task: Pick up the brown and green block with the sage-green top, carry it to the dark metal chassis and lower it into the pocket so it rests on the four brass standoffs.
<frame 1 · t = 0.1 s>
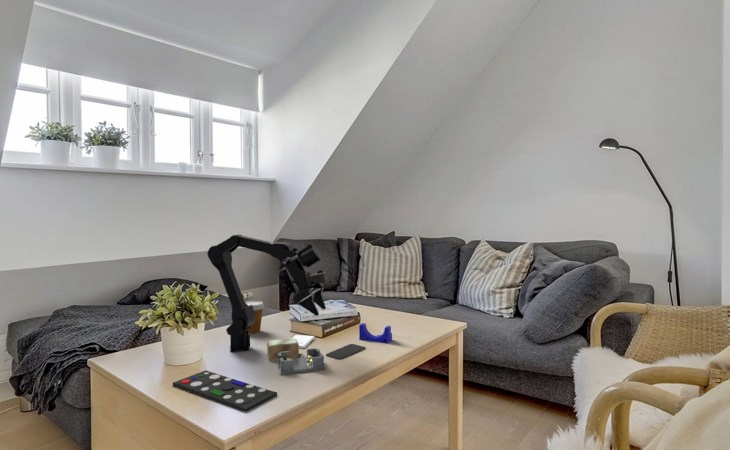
hand: (321, 312, 148), 15 cm above the table, tool tilted 30°, fingers open, 9 cm apart
phone: (346, 353, 151), on the table
chassis: (300, 366, 136), on the table
disposable coffee cup: (252, 332, 176), on the table
remote control: (223, 393, 118), on the table
brown and green block: (282, 356, 146), on the table
blue u-shaped cradle: (375, 340, 165), on the table
external hard drive: (299, 344, 161), on the table
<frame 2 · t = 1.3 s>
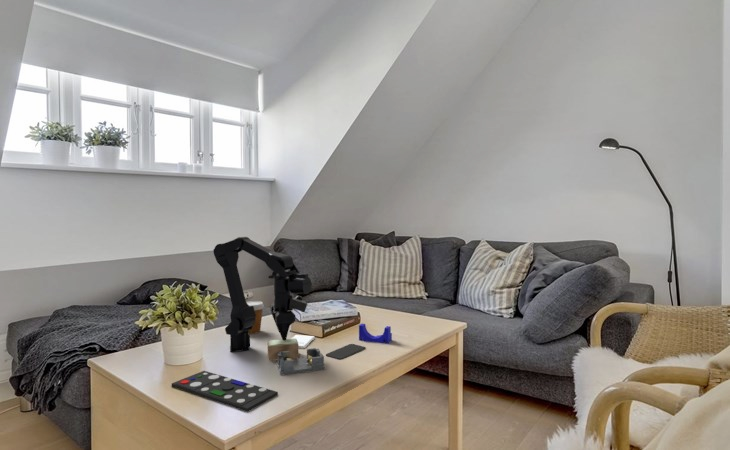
hand: (282, 336, 146), 7 cm above the table, tool pointing down, fingers open, 9 cm apart
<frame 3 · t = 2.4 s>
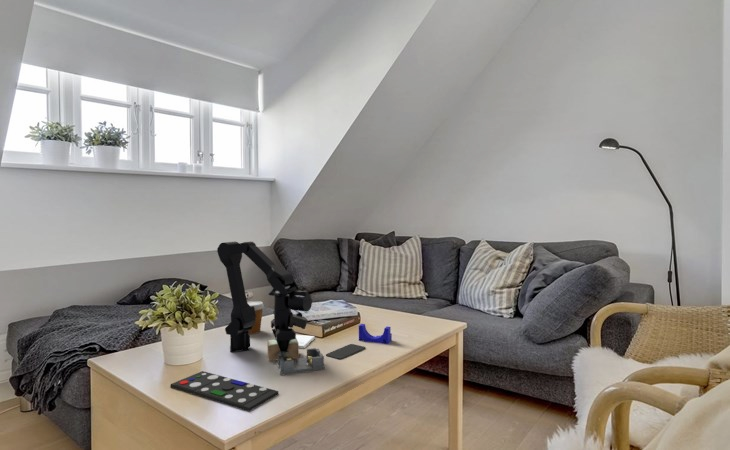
hand: (282, 353, 146), 1 cm above the table, tool pointing down, fingers closed on brown and green block, 6 cm apart
brown and green block: (282, 356, 146), on the table, touching gripper
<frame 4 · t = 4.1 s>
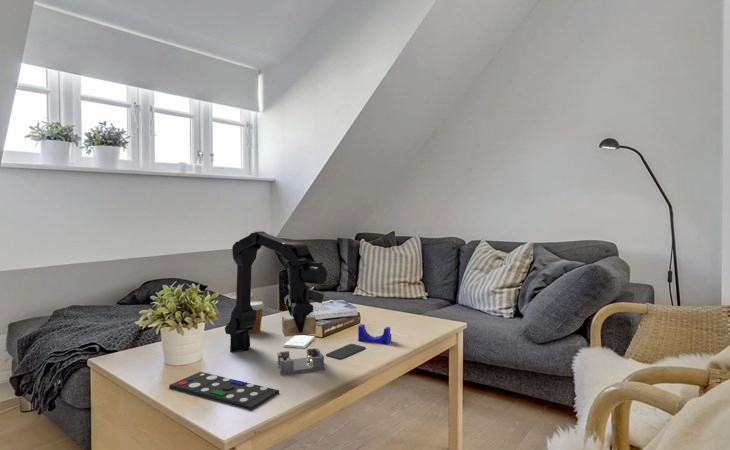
hand: (298, 329, 137), 12 cm above the table, tool pointing down, fingers closed on brown and green block, 6 cm apart
brown and green block: (299, 332, 137), point 11 cm above the table, touching gripper
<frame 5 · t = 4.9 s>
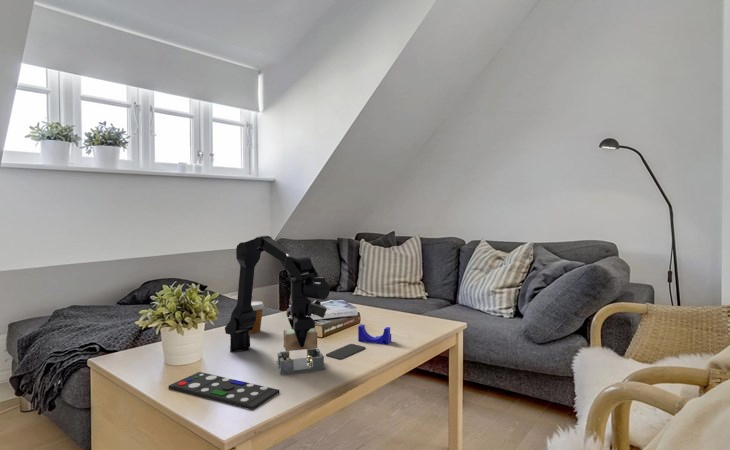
hand: (300, 343, 136), 8 cm above the table, tool pointing down, fingers closed on brown and green block, 6 cm apart
brown and green block: (300, 346, 136), point 7 cm above the table, touching gripper
when the fingers open (5 cm above the table, at t = 5.8 s): brown and green block drops 1 cm, resting on chassis.
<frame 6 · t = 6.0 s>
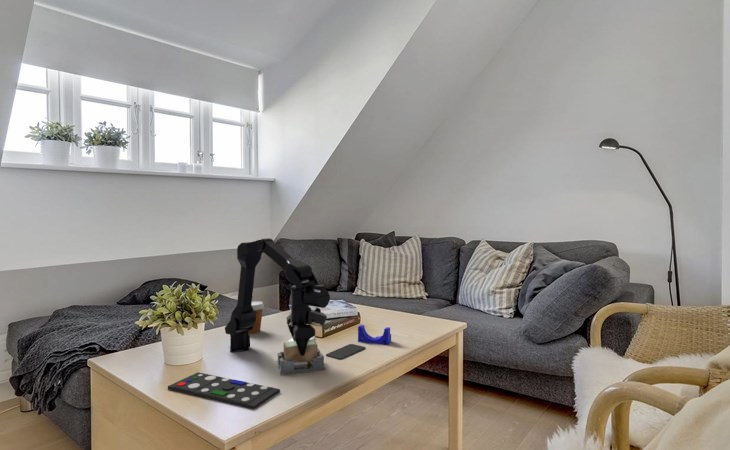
hand: (300, 351, 136), 5 cm above the table, tool pointing down, fingers open, 8 cm apart
brown and green block: (300, 359, 136), point 2 cm above the table, touching chassis
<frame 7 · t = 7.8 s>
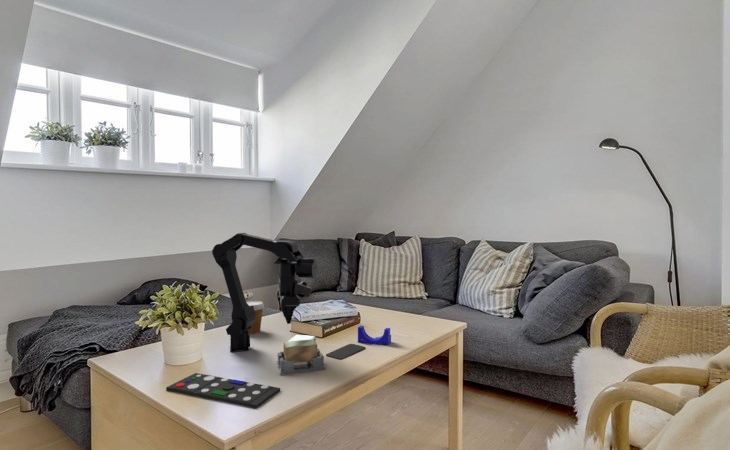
hand: (287, 320, 149), 12 cm above the table, tool pointing down, fingers open, 9 cm apart
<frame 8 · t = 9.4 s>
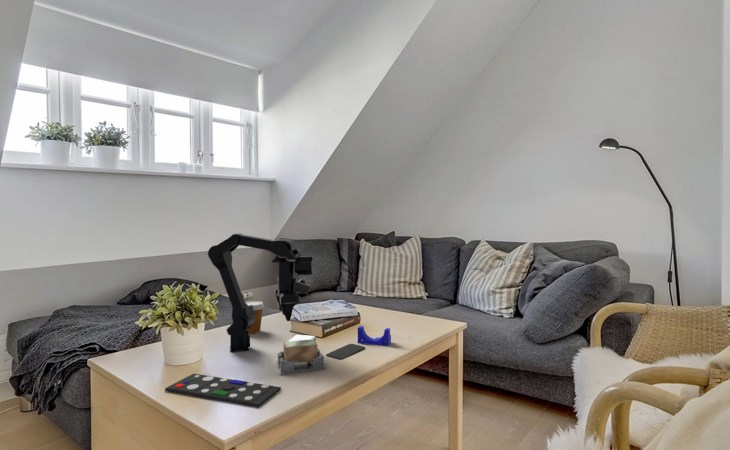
hand: (286, 317, 151), 12 cm above the table, tool pointing down, fingers open, 9 cm apart
at the end: brown and green block 0.0 cm off-centre on the chassis, point 2.5 cm above the chassis's base; brown and green block tilted 0°; the gripper is holding nothing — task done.
